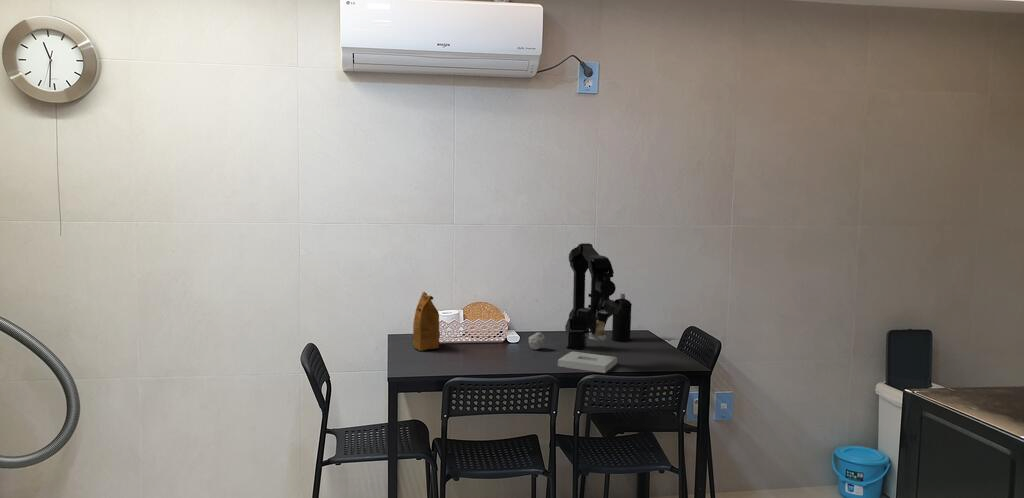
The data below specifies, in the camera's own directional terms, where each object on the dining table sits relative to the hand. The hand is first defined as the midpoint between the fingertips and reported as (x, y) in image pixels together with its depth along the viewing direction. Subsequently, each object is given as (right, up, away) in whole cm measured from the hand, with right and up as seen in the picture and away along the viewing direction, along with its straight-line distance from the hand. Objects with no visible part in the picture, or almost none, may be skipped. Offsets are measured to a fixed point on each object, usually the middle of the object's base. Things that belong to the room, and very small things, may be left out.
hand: (597, 333), depth 264 cm
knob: (0, -2, 0) cm, 2 cm away
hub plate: (-4, -12, +1) cm, 12 cm away
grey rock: (-22, -9, +23) cm, 33 cm away
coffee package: (-66, -9, +23) cm, 70 cm away
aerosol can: (+15, -8, +42) cm, 45 cm away
